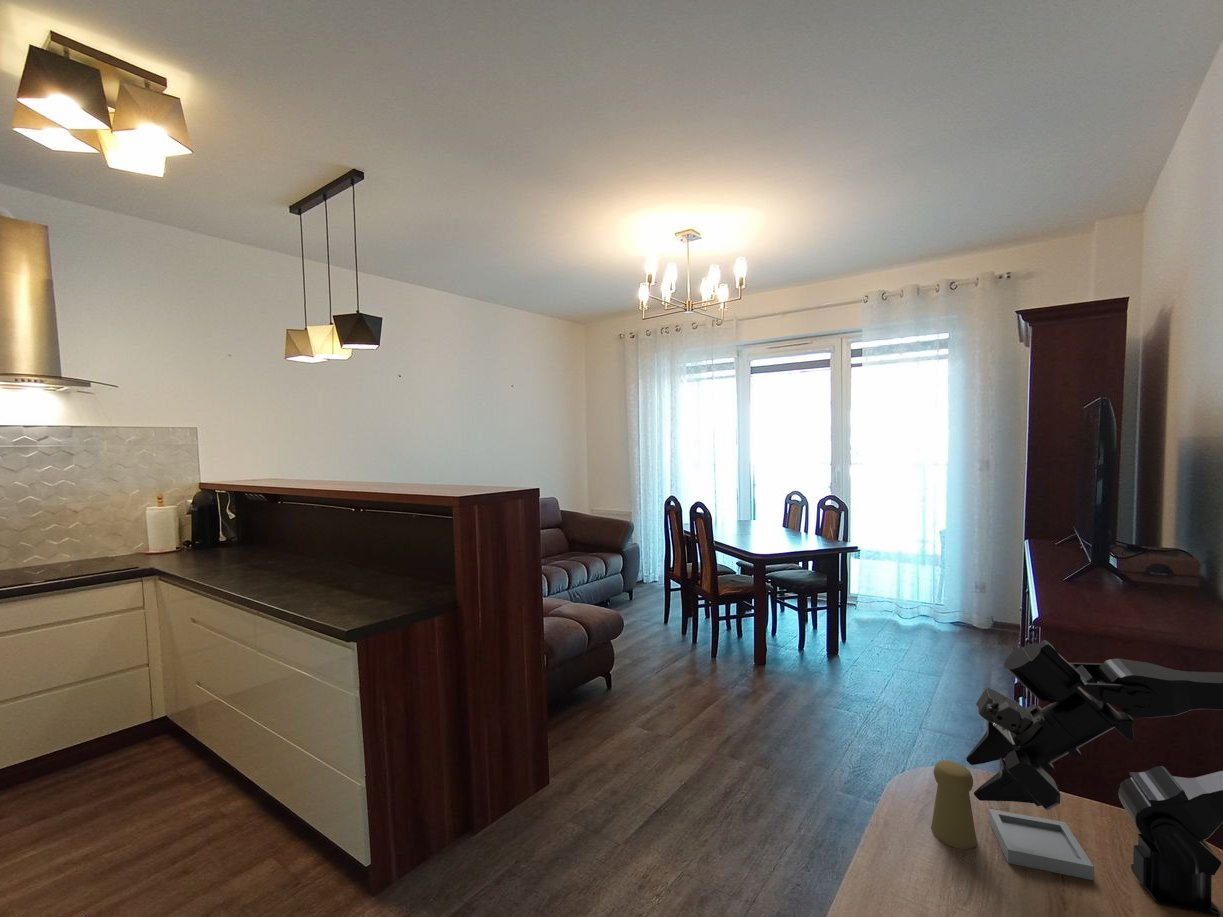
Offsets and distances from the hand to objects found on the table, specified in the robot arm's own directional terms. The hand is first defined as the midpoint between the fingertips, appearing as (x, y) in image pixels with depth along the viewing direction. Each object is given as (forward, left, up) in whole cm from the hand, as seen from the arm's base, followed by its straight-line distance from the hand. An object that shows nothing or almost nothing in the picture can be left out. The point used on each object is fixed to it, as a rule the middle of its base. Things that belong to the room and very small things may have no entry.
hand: (972, 778), depth 83 cm
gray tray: (-9, -1, -10) cm, 13 cm away
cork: (+2, 0, -10) cm, 10 cm away
